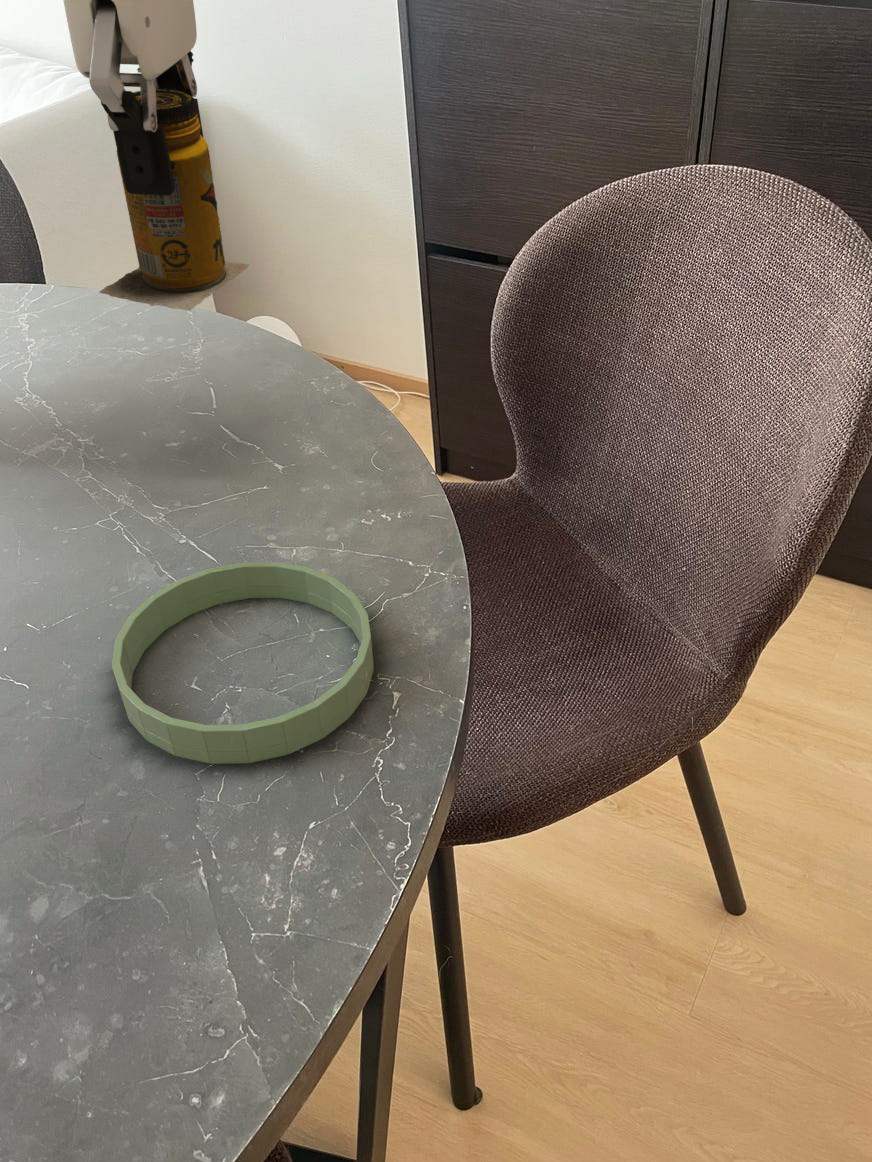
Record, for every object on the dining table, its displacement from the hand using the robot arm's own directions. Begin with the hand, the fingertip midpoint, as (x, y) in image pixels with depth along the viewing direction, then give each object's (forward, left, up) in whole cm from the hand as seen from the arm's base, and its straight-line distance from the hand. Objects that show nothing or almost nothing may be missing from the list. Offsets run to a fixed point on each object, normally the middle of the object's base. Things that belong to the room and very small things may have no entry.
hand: (167, 173), depth 71 cm
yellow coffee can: (0, -1, -7) cm, 8 cm away
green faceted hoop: (+11, -27, -21) cm, 36 cm away
